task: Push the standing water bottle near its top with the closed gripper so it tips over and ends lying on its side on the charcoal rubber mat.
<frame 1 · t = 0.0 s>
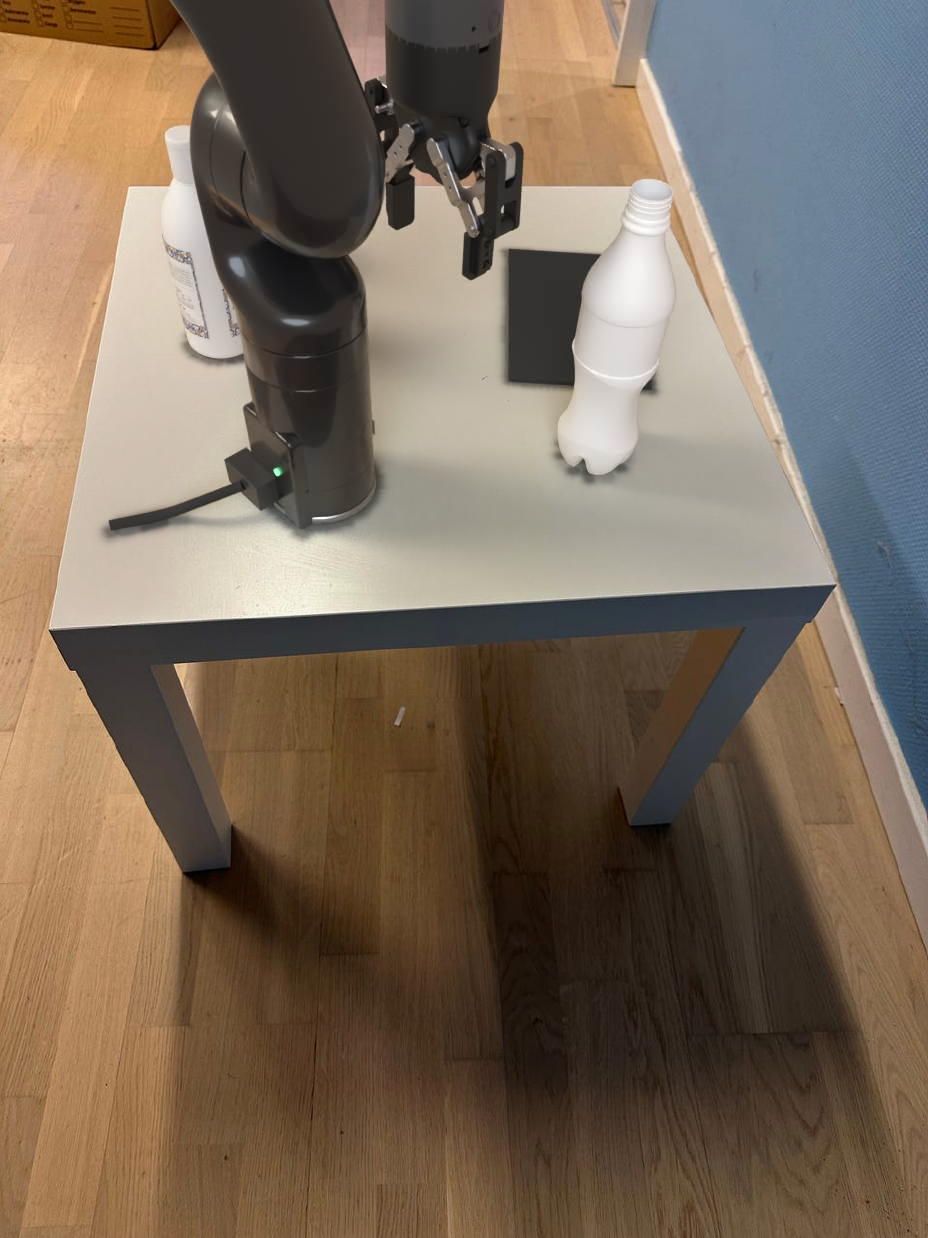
hand: (437, 249, 70), 17 cm above the table, tool pointing down, fingers open, 8 cm apart
mat: (575, 316, 94), on the table
bath foam: (224, 340, 89), on the table
water bottle: (592, 456, 82), on the table
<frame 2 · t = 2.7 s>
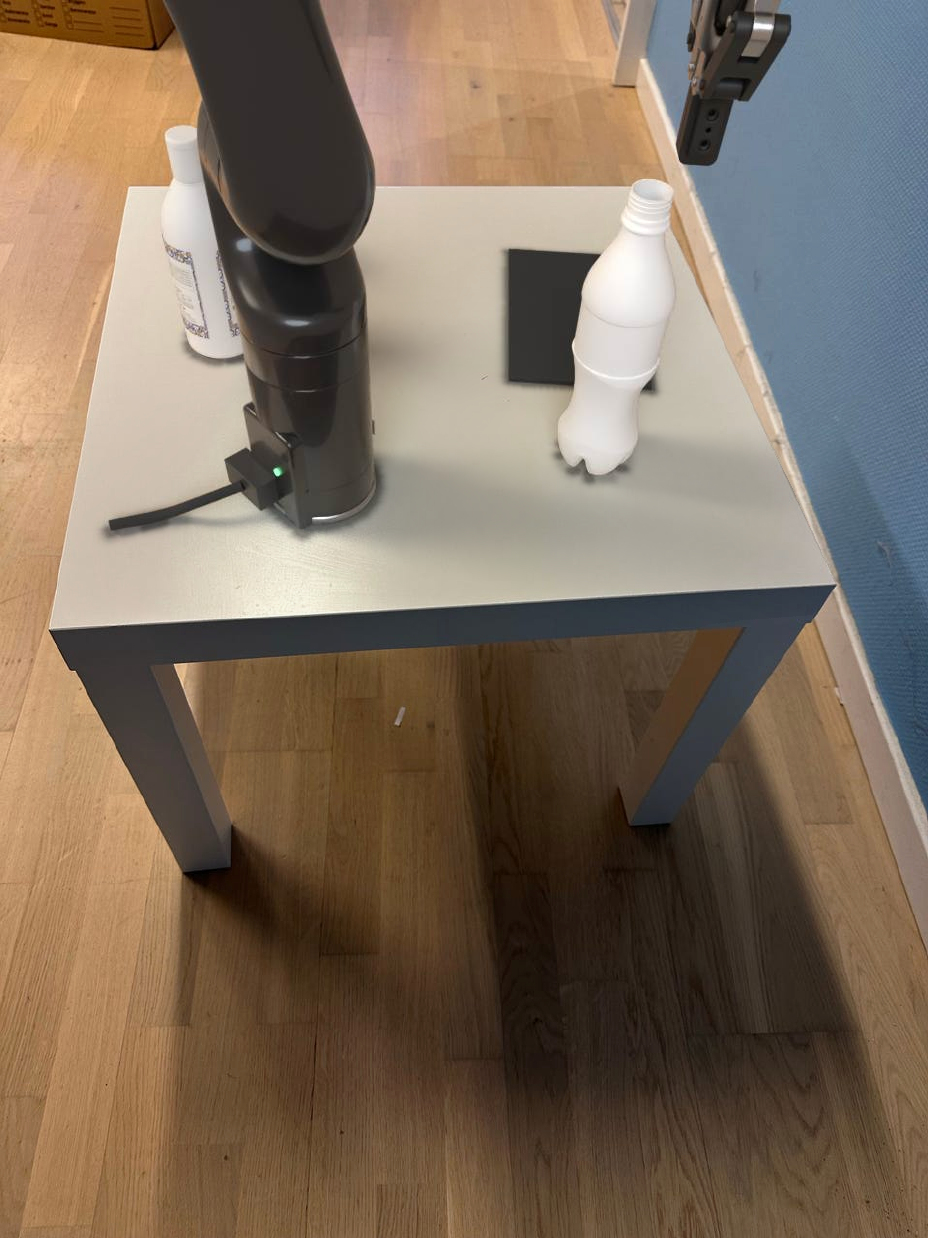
hand: (694, 158, 51), 32 cm above the table, tool pointing down, fingers closed
nothing on the table moved.
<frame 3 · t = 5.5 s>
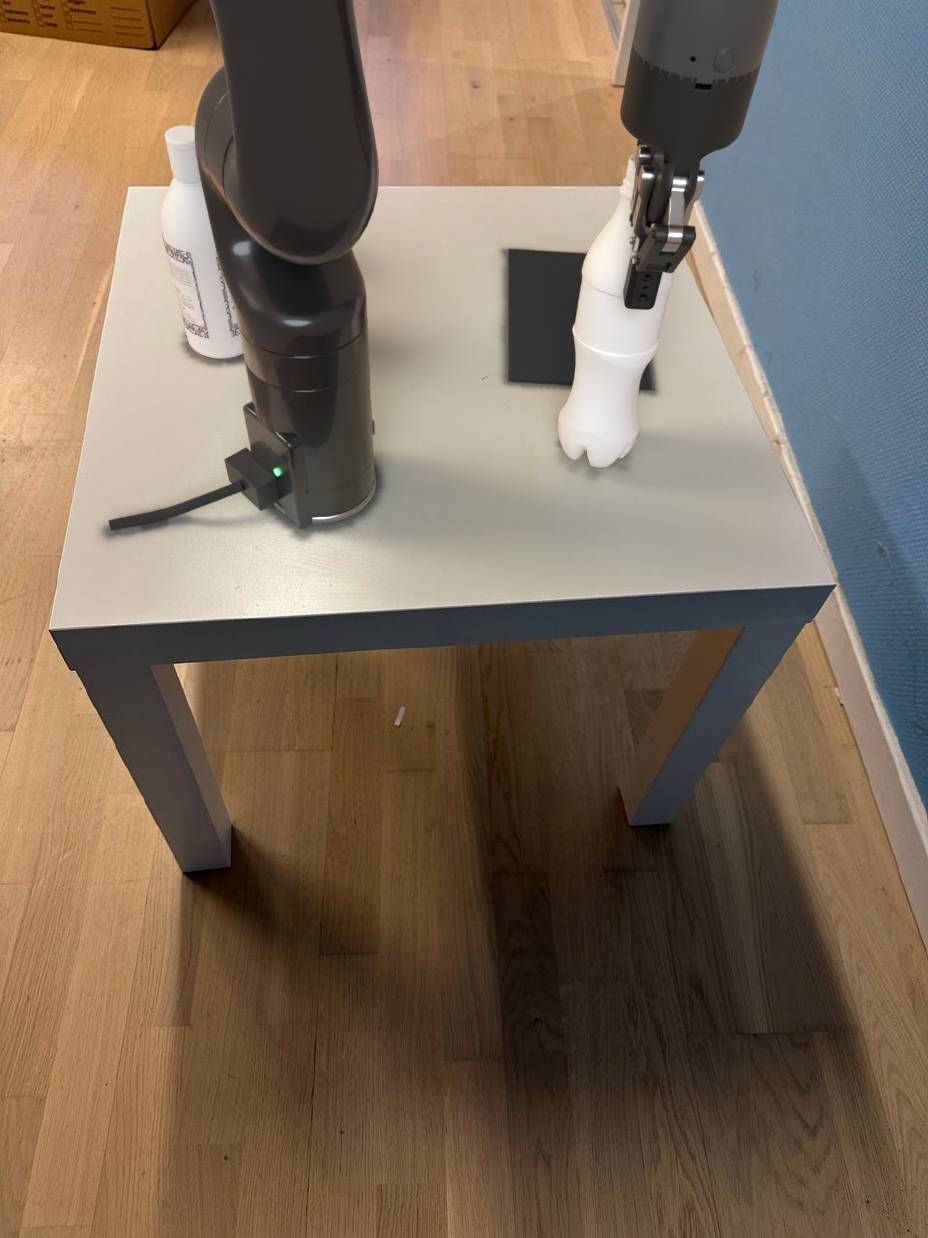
hand: (637, 303, 65), 18 cm above the table, tool pointing down, fingers closed
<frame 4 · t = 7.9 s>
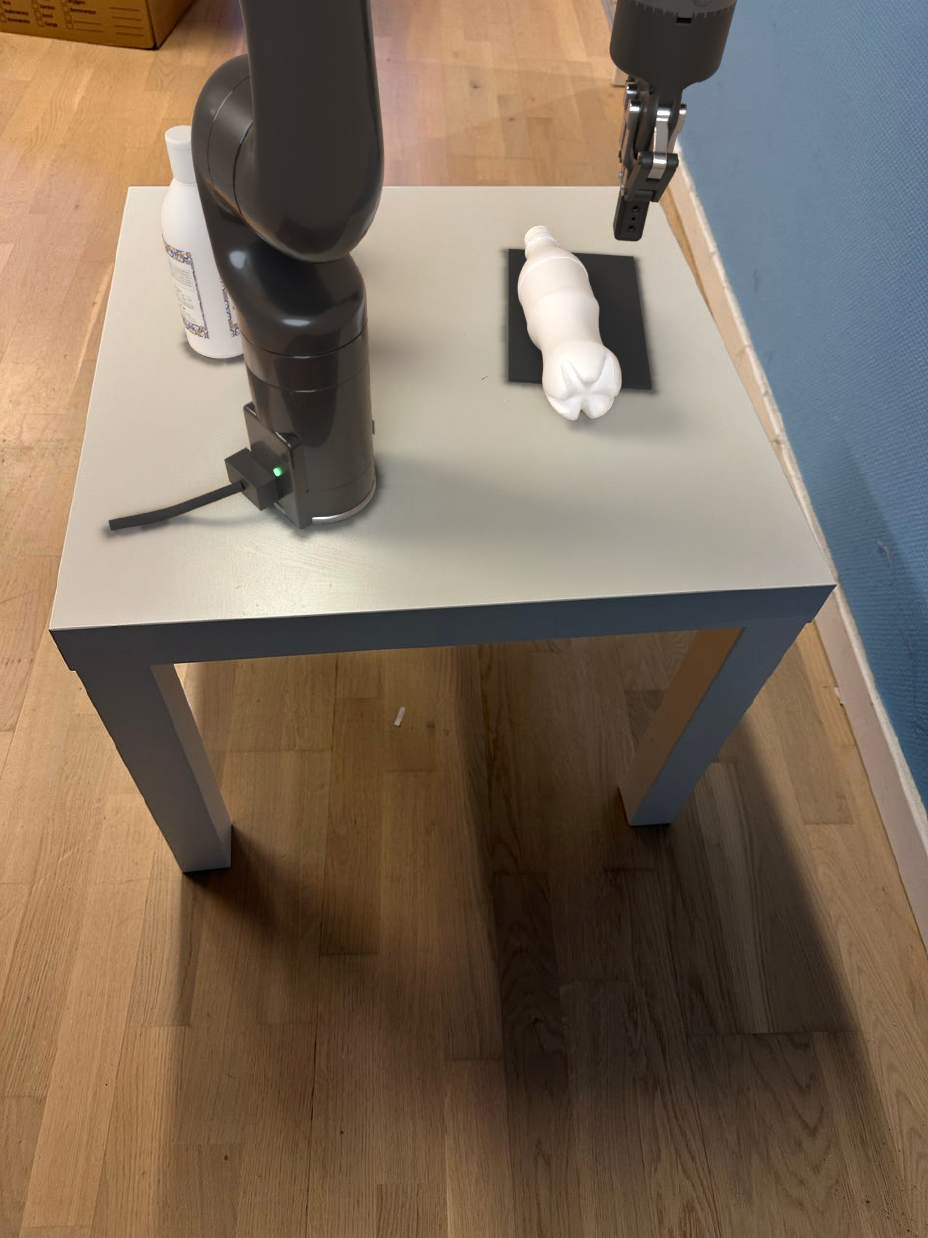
hand: (626, 235, 71), 18 cm above the table, tool pointing down, fingers closed
water bottle: (588, 401, 80), point 4 cm above the table, touching mat
everything else where it was.
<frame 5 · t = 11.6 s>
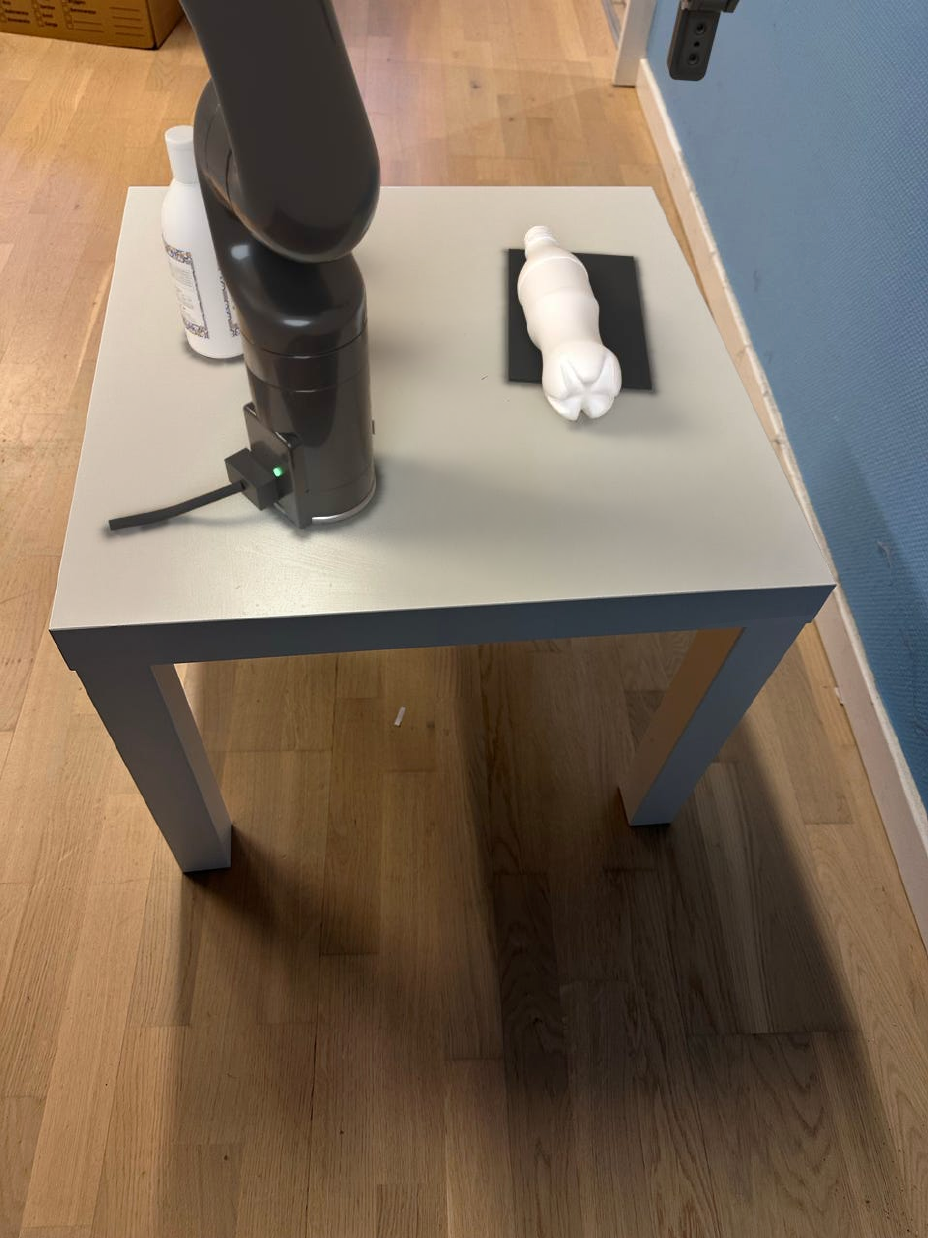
hand: (684, 74, 54), 33 cm above the table, tool pointing down, fingers closed
nothing on the table moved.
at the end: water bottle tilted 89°; water bottle touching mat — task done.
